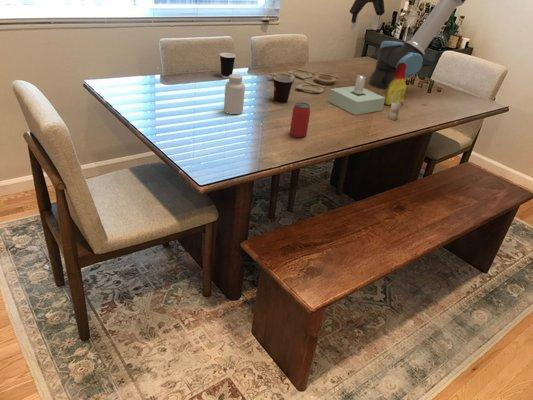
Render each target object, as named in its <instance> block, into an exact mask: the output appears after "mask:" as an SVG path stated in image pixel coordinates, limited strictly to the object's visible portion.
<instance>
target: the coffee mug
mask: <svg viewBox="0 0 533 400" xmlns="http://www.w3.org/2000/svg"><path fill="white" fill-rule="evenodd" d="M293 81H294V79H291V78H289V77H285V76H276V77H274V76H273V101H274V102H275V103H279V104H286V103H288V101H289V97H290V93H291V90H292V85H293Z"/></svg>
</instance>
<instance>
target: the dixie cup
mask: <svg viewBox="0 0 533 400" xmlns="http://www.w3.org/2000/svg"><path fill="white" fill-rule="evenodd" d="M219 56H220V57H219V59H220V75H221V77H222V78H223V79H229V75H232V74H233V71H234V66H235V60H236V59H235V58H236V54H234V53H231V52H221V53H219Z"/></svg>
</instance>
